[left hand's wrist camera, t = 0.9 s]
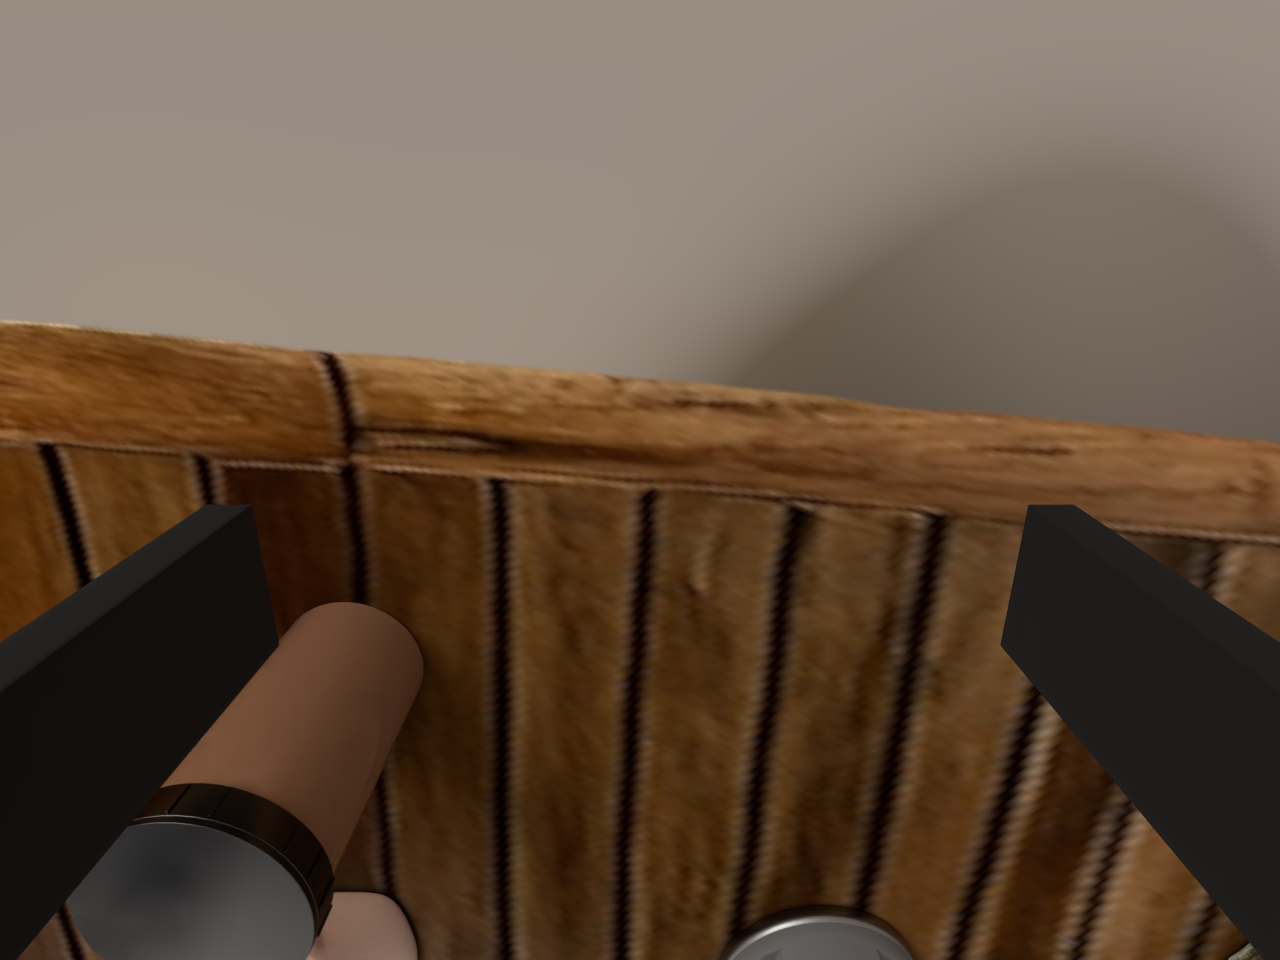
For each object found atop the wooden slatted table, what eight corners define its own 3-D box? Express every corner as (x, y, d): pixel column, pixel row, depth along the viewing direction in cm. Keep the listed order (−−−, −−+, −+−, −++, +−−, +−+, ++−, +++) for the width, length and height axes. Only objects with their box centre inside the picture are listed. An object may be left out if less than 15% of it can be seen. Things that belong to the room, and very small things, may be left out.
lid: (298, 980, 34) (277, 1027, 32) (81, 911, 32) (44, 957, 30) (366, 831, 31) (347, 874, 29) (129, 748, 29) (92, 787, 27)
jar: (397, 738, 48) (273, 1005, 32) (266, 689, 47) (68, 942, 30) (444, 634, 45) (335, 869, 29) (306, 579, 44) (112, 793, 28)
